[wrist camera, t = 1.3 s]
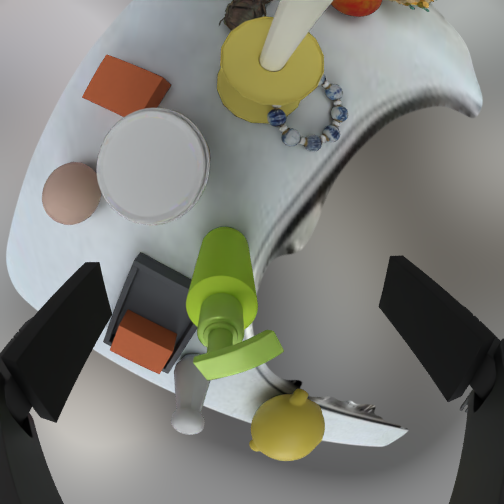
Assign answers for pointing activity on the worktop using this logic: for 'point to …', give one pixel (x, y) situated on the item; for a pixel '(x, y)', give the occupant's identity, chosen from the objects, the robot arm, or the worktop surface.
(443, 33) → the worktop surface
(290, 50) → the yellow disc white stick
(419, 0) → the cartoon bug character
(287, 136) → the bracelet
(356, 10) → the fruit
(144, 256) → the pad frame
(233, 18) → the insect
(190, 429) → the salt shaker
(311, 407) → the sculpture
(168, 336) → the seated pad
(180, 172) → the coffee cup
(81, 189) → the egg
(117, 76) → the loose pad
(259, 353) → the soap dispenser
